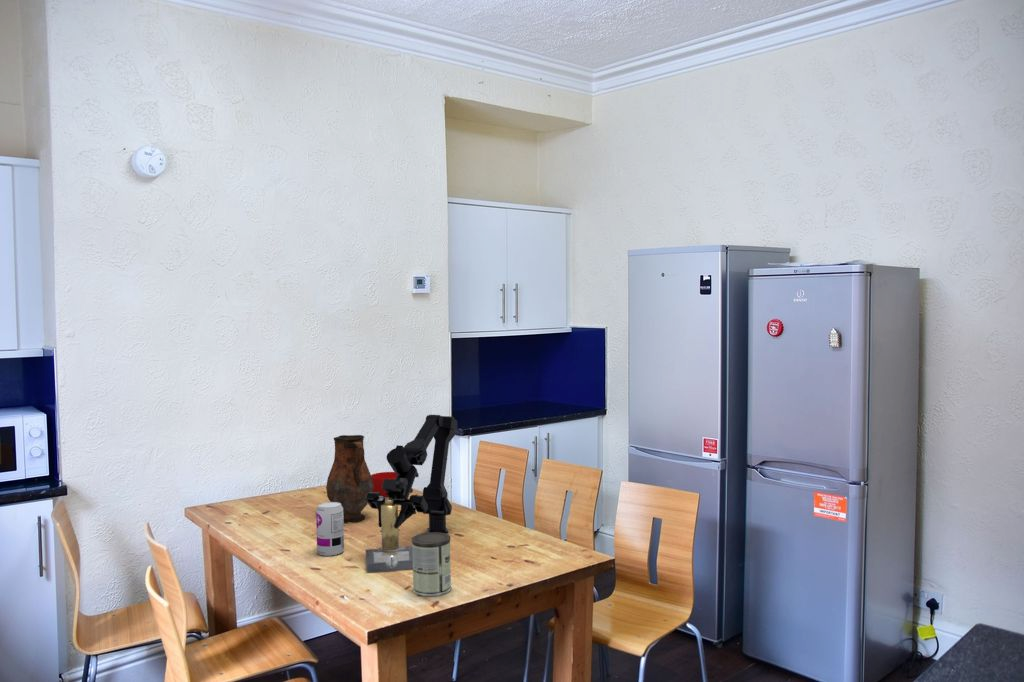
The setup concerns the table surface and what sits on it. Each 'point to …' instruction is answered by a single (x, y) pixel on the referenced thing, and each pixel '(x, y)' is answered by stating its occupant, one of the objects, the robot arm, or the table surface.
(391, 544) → the brass weight
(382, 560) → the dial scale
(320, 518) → the supplement can
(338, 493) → the pitcher
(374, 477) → the ceramic cup
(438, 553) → the coffee can
